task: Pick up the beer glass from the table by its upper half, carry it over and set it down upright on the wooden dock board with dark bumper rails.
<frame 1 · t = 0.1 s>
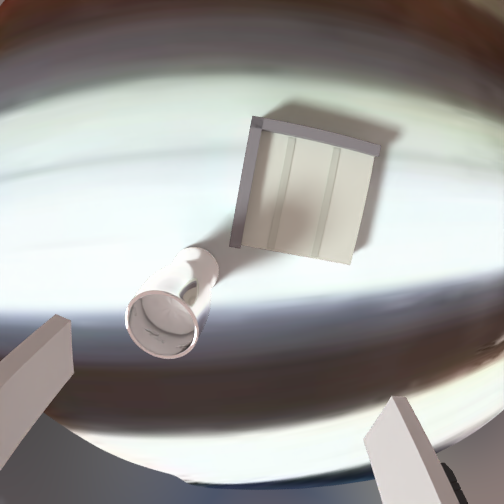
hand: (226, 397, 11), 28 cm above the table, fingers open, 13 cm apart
beer glass: (195, 269, 39), on the table
dock: (301, 191, 36), on the table
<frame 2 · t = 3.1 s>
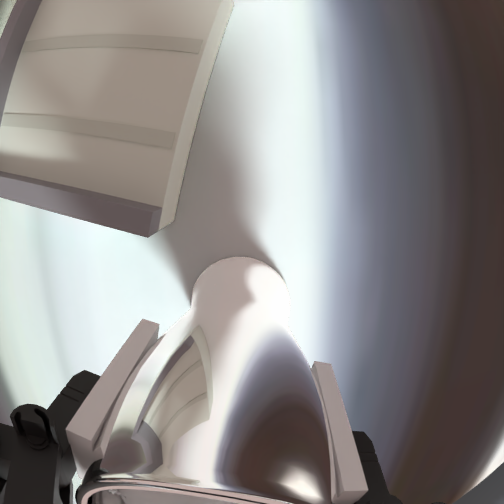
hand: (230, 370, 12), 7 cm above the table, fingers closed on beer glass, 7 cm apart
beer glass: (240, 301, 19), on the table, touching gripper
dock: (98, 91, 16), on the table
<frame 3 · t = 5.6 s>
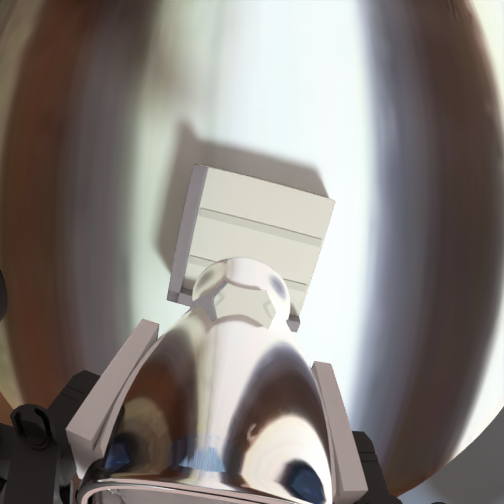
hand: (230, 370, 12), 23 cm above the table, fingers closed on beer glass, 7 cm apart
beer glass: (240, 301, 19), point 16 cm above the table, touching gripper
dock: (250, 242, 34), on the table
when the fingers open (11 cm above the table, at t = 8.1 s): beer glass stays where it is, resting on dock.
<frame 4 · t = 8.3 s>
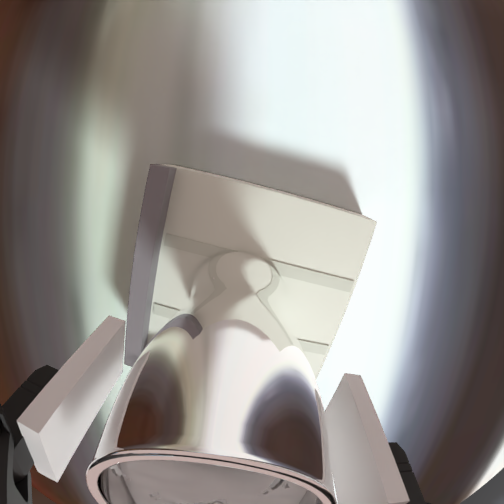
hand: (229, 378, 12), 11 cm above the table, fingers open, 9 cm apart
beer glass: (237, 295, 20), point 3 cm above the table, touching dock
dock: (244, 280, 23), on the table
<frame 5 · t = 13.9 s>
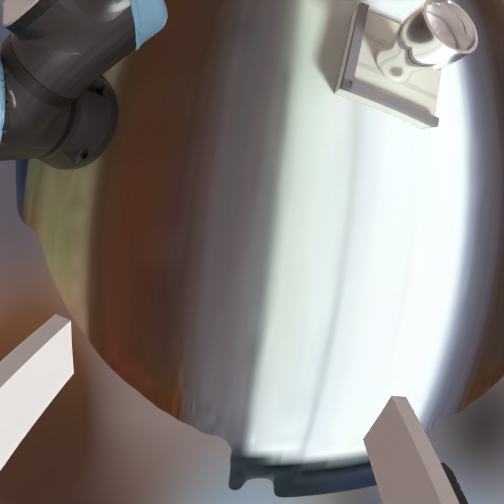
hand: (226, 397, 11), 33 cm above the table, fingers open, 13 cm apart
beer glass: (395, 62, 33), point 3 cm above the table, touching dock
dock: (389, 69, 36), on the table
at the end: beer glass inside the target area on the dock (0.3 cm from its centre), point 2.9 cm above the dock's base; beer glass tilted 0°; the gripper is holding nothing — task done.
